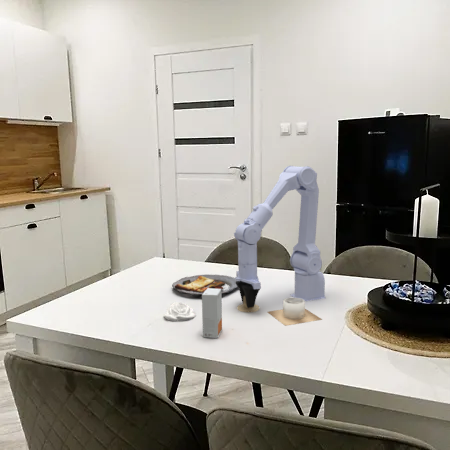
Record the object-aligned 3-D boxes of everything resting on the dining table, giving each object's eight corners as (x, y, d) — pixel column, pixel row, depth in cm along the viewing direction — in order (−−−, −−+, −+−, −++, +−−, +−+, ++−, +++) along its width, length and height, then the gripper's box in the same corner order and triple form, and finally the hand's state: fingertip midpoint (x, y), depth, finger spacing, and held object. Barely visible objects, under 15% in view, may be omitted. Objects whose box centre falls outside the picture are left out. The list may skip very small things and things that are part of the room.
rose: (177, 295, 143) (202, 300, 138) (177, 309, 144) (202, 314, 139) (156, 305, 135) (181, 310, 130) (156, 319, 136) (182, 325, 130)
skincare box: (218, 338, 120) (217, 295, 118) (202, 337, 121) (201, 294, 119) (222, 329, 126) (221, 288, 124) (207, 328, 127) (206, 287, 125)
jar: (298, 310, 138) (298, 296, 137) (308, 317, 132) (309, 302, 131) (279, 313, 136) (279, 299, 135) (289, 320, 130) (289, 305, 129)
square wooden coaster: (301, 308, 142) (301, 306, 142) (322, 321, 130) (322, 319, 130) (266, 313, 138) (266, 311, 138) (285, 327, 126) (285, 325, 126)
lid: (253, 304, 145) (253, 292, 144) (262, 311, 139) (262, 298, 138) (234, 307, 143) (234, 294, 142) (242, 314, 137) (242, 301, 136)
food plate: (214, 303, 148) (214, 292, 147) (159, 293, 160) (159, 283, 159) (251, 285, 169) (251, 276, 168) (199, 278, 181) (199, 269, 180)
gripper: (227, 258, 144) (228, 299, 146) (244, 269, 130) (245, 314, 133) (247, 256, 146) (248, 297, 148) (266, 267, 133) (267, 311, 135)
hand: (248, 305), depth 141 cm, fingers closed on lid, 3 cm apart
